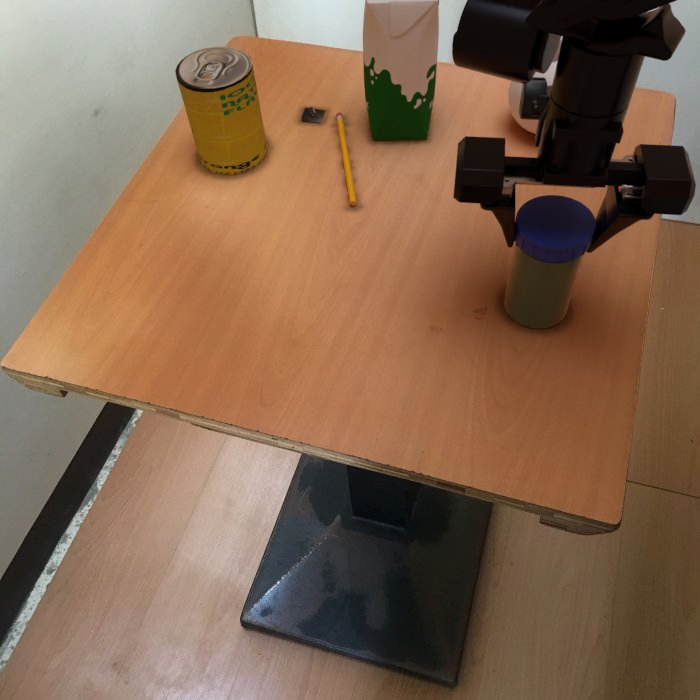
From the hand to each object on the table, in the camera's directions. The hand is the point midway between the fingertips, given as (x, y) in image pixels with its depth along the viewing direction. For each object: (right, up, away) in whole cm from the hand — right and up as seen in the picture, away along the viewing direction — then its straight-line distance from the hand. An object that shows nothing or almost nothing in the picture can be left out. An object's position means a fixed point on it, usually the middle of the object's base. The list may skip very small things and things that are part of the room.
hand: (549, 246), depth 60 cm
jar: (+1, -5, +7) cm, 8 cm away
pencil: (-19, +15, +22) cm, 33 cm away
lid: (0, +2, -2) cm, 3 cm away
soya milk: (-12, +21, +26) cm, 36 cm away
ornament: (+7, +20, +25) cm, 32 cm away
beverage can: (-34, +16, +24) cm, 45 cm away
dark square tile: (-24, +22, +29) cm, 43 cm away
